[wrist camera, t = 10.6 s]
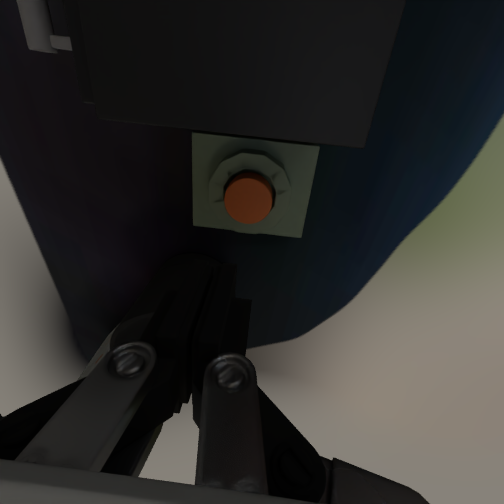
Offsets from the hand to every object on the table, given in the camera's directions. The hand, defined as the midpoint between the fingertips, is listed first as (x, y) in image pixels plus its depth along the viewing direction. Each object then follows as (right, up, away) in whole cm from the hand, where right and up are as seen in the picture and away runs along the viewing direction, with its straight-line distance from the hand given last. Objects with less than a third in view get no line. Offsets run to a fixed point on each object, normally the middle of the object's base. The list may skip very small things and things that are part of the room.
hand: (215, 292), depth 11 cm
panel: (+1, +8, +14) cm, 16 cm away
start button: (+1, +6, +11) cm, 13 cm away
